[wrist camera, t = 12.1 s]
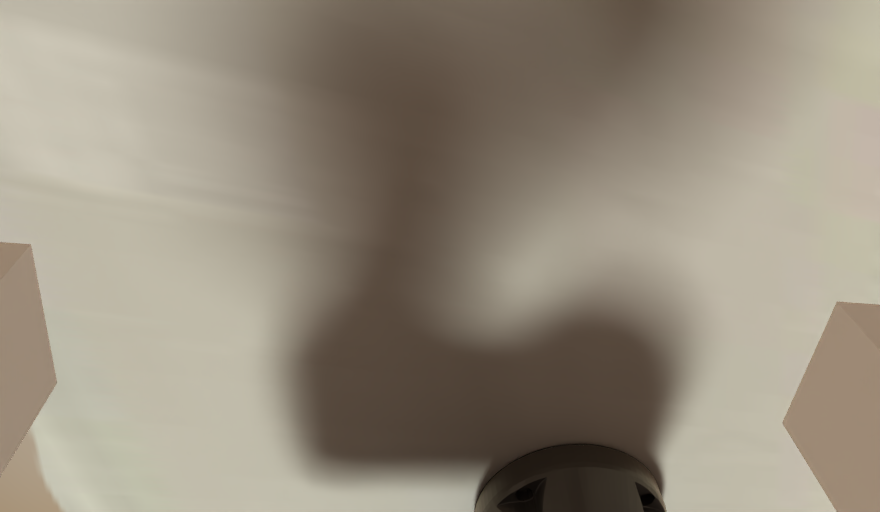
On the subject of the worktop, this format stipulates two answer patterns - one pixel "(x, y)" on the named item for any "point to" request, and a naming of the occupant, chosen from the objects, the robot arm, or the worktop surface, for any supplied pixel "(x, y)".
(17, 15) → the worktop surface
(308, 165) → the worktop surface
